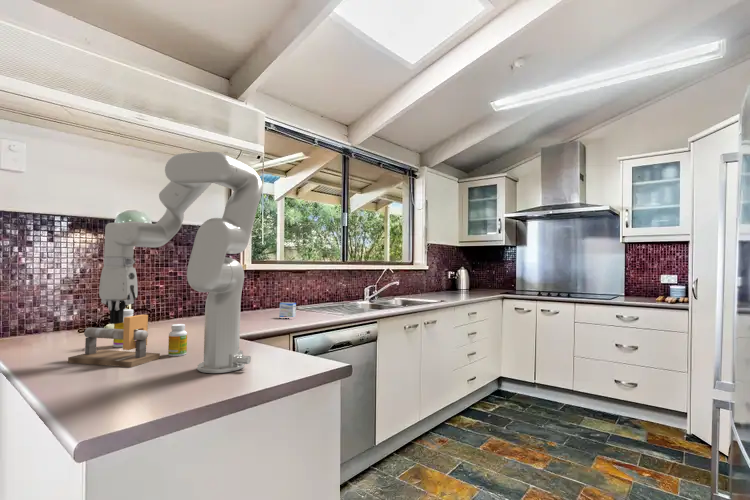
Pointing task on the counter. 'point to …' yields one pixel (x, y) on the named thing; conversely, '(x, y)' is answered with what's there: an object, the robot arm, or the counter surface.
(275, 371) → the counter surface
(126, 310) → the supplement bottle
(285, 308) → the medicine box
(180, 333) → the supplement bottle
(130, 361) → the pipe stand
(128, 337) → the rubber collar
